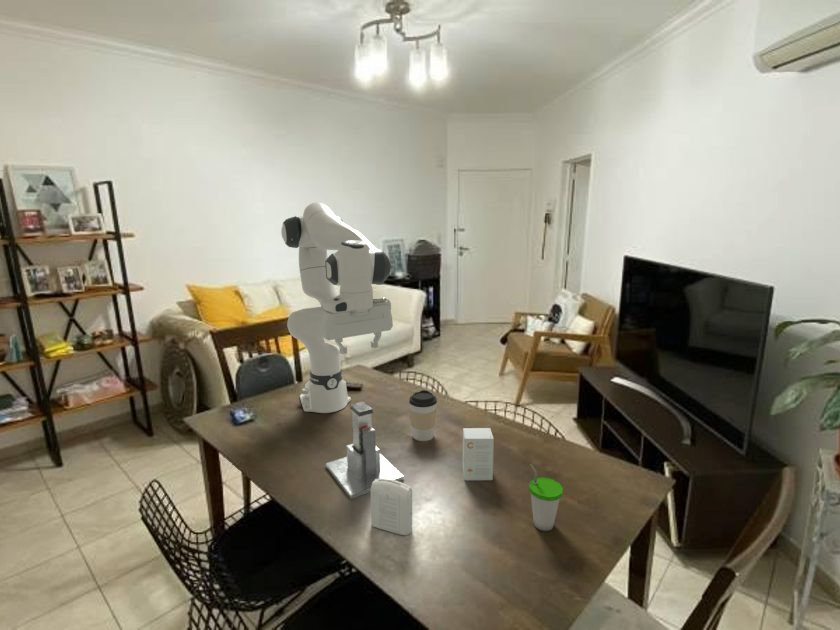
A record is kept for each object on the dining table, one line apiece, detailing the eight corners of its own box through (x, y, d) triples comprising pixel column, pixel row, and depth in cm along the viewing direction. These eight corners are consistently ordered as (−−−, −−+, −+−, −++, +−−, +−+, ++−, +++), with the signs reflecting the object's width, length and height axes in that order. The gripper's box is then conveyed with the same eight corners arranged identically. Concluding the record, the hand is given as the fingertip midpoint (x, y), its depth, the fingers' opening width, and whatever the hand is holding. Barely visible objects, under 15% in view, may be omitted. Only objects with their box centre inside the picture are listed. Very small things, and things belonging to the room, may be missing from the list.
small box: (489, 468, 132) (491, 427, 129) (492, 481, 126) (494, 438, 123) (461, 468, 132) (462, 427, 129) (463, 481, 126) (464, 438, 123)
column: (353, 465, 131) (350, 404, 126) (365, 461, 133) (363, 401, 128) (361, 475, 126) (359, 412, 121) (374, 471, 128) (372, 409, 124)
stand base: (326, 466, 133) (323, 418, 129) (374, 451, 141) (373, 405, 138) (351, 499, 118) (348, 445, 115) (403, 479, 127) (402, 429, 123)
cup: (567, 531, 106) (572, 474, 103) (539, 539, 104) (542, 482, 100) (547, 510, 113) (550, 457, 110) (520, 518, 111) (523, 463, 107)
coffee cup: (434, 444, 146) (434, 400, 142) (406, 441, 147) (406, 398, 144) (438, 430, 154) (438, 389, 151) (412, 428, 156) (412, 387, 152)
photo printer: (415, 526, 108) (414, 480, 105) (408, 538, 104) (407, 491, 101) (376, 516, 112) (375, 471, 109) (368, 527, 108) (366, 481, 105)
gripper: (385, 295, 130) (386, 342, 133) (316, 303, 120) (320, 354, 122) (395, 298, 125) (397, 346, 128) (325, 307, 114) (329, 359, 117)
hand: (359, 350), depth 125 cm, fingers open, 8 cm apart
